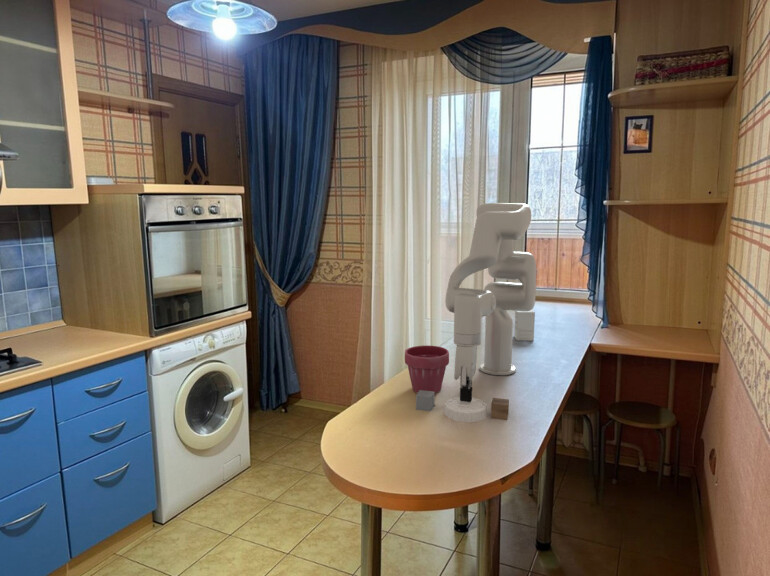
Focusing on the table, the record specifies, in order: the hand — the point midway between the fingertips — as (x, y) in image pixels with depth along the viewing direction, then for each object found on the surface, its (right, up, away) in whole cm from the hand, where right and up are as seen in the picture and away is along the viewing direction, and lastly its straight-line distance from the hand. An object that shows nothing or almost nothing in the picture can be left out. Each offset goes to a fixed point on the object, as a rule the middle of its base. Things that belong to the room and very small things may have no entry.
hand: (465, 400), depth 155 cm
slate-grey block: (-11, -3, +5) cm, 13 cm away
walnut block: (+9, -4, -1) cm, 10 cm away
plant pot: (-10, -1, +20) cm, 22 cm away
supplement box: (+37, +10, +81) cm, 89 cm away
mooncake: (0, -4, +1) cm, 4 cm away
